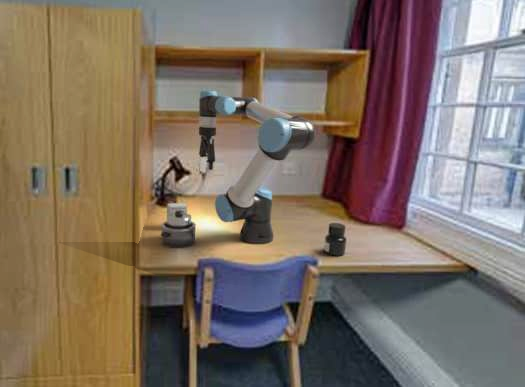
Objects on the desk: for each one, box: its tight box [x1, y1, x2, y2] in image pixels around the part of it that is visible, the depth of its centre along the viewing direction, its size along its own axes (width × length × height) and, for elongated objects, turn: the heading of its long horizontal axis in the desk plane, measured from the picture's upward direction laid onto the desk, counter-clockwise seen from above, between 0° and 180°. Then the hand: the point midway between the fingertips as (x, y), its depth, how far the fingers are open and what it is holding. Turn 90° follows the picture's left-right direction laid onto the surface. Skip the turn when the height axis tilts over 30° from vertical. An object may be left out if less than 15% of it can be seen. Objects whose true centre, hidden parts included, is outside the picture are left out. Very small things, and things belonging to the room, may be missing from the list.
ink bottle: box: [323, 222, 347, 257], centre depth 174 cm, size 10×9×12 cm
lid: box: [166, 211, 192, 229], centre depth 175 cm, size 10×10×6 cm
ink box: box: [166, 202, 188, 216], centre depth 193 cm, size 9×5×12 cm, turn 114°
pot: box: [160, 220, 197, 249], centre depth 176 cm, size 18×14×8 cm
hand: (206, 173), depth 189 cm, fingers open, 13 cm apart
